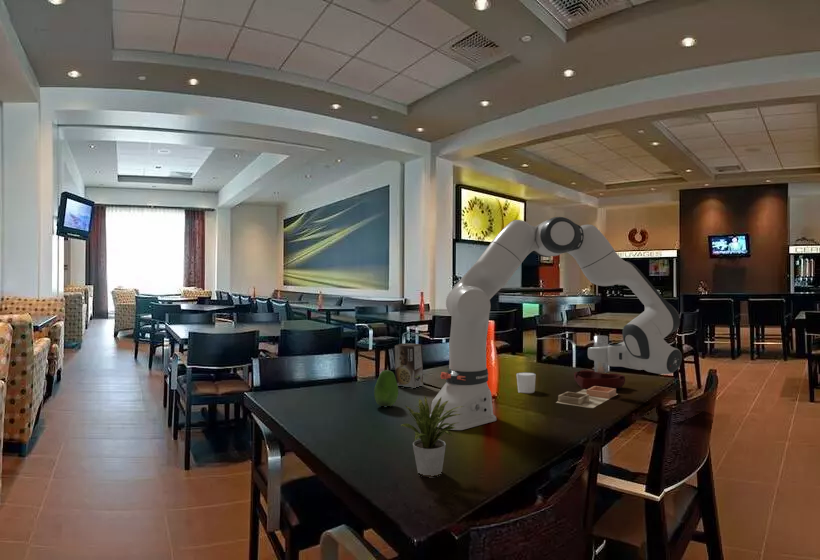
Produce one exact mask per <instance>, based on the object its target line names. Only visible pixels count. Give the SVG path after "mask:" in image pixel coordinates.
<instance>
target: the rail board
mask: <svg viewBox="0 0 820 560" xmlns="http://www.w3.org/2000/svg"><path fill="white" fill-rule="evenodd" d="M617 395H619V394H618V393H616V395H614V396H613V397H611V398H609V399H608V398H601V397H594V396H589V394H587V389H581V390H579V391H576V392H574V391H573V392H572V391H565V392H563V393H561V394H558V395H557V401H556V402H555V404H562V405H569V406H573V407H575V406H576V407H582V408H587V409H594V408H596V407H597V406H599V405H601V404H603V403H605V402H607V401H608V400H610V399H612V398H614V397H616V396H617Z"/></svg>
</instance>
